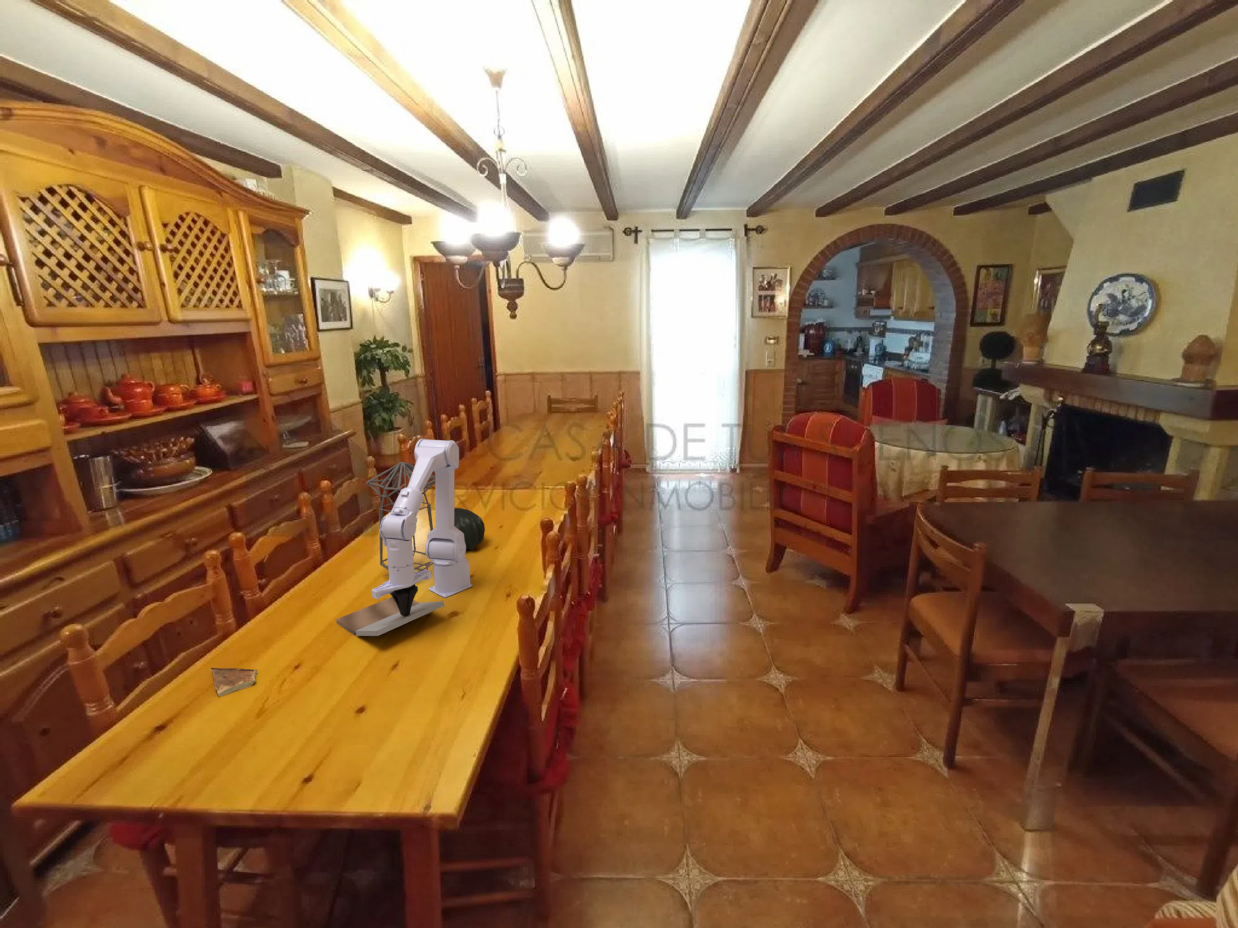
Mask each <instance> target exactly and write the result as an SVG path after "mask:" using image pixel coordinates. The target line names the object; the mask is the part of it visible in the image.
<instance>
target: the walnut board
mask: <svg viewBox="0 0 1238 928" xmlns="http://www.w3.org/2000/svg"><path fill="white" fill-rule="evenodd" d="M419 603H420V602H419V601H416V600H415V599H414V600H413V603H412V606H415V605H417V604H419ZM412 606H411V607H412ZM398 612H400V611H399V608H398V606H397V604H396V602H395V600H394V599H393V597H392V596H391V597H388V598H386V599H383V600H380V601H378V602H376V603H374V604H371V605H369V606H366V607H363V608H360V609H358V610H357V611H354V612H351V613H349V614H346V615H344V616H341V617H339V618H337V619H335V621H336V622H335V623H336V624H337V625H338V626H340V627H341V628H343V629H344V630H346V631H347V632H348V633H350V634H351V635H353V636H356V637H357V635H356V632H355V631H356V630H359V629H361V628H363V627H366V626H368V625H370V624H373V623H375V622H377V621H380V620H382V619H384V618H387V617H389V616H391V615H394V614H396V613H398Z"/></svg>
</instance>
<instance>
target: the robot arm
mask: <svg viewBox="0 0 1238 928" xmlns="http://www.w3.org/2000/svg"><path fill="white" fill-rule="evenodd" d="M413 456H414V459H415V464H414V466H415V467H414V470H413V472H412V475H411V477H410V481H408V484H407V486H406V487H407V488H404V487H403V488H401V489H402V490H399V491H400V492H399V494H398V496H397V498H396V500H395V504H394V506H393V505H392V506H393V507H392V509H391V510H390V511H391V512H389V514H387V516H383V519H382V521H381V524H380V530H379V529H378V530H379V531H378V532H379V533H380V536H381V537H382V538H383V546H385V548H386V556H387V557H386V559H387V558H388V560H387V566H388V569H389V570H388V580H387V581H385V582H383V583H382V584H380V585H378V586H377V587H374V588H372V589H371V596H372V598H373V599H375V600H379V599H381V597H383V596H386V595H388V594H390V596H391V597H393V599H394V600H395V602H396V604H397V606H398V608H399V611H400V614H401V615H402V616H404V617H406V616H408V615H410V611H411V606H412V603H413V600H415V597H416V595H417V593H418V591H419V587H418V585H416V584H417V583H419V582H422V581H425V580H430V579H432V571H430V570H429V569H428V570H427V569H424V570H423V571H419V570H418V571H419V572H417V571H415V570H414V567H415V564H414V562H415V561H414V556H413V553H414V552H413V551H414V546H413V536H414V535H416V532H417V523H418V517H417V516H418V514H419V512H420V510H419V509H420V508H422V507H421V506H422V504H423V503H422V502H424V500H425V497H424V494H422V492H423V489H424V487H425V485H426V483H427V481H428V482H429V480H430V479H429V478H430V476H431V474H432V475H433V473H434V476H435V484H434V485H435V488H434V489H435V490H434V491H435V493H434V494H435V496H434V497H435V498H434V499H435V504H434V505H435V506H434V507H435V513H434V514H435V517H434V518H435V520H434V521H435V528H433V530H432V531H431V532H428V533H427V535H426V543H425V547H424V550H425V551H424V553H426V555H425V556H426V557H427V559H429V560H430V561H431V562H432V563H433V564H432V567H433V581H434V585H432V586H430V587H429V588H428V590H429V591H430V592H432V593H434V594H437V595H439V596H440V597H442V598H444V599H446V598H448V597H451V596H453V595H455V594H457V593H459V592H462V591H464V590H466V589H469V588H471V587H473V584H472V583H471V573H470V572H471V571H470V568H471V567H470V563H469V560H468V559H467V558H466V556H465V555H466V551H467V548H466V544H465V540H464V533H462V532H461V531H460V530H458V529H457V528H456V527H455V526H454V508H455V470H457V469H459V464H460V448H459V446H458V445H457V443H456V441H455V440H452V439H451V440H442V439H441V440H440V439H425V438H420V439H419V440H418V441H417V442H416V444H415V447H414V455H413ZM426 486H427V485H426ZM380 536H379V537H380Z"/></svg>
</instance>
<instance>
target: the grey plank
mask: <svg viewBox="0 0 1238 928" xmlns="http://www.w3.org/2000/svg"><path fill="white" fill-rule="evenodd" d="M445 606H446V605H445V603H444V600H442V601H427V602H424V601H423V602H419V604H417V605H415V606H412V607H411V611H410V615H408V616H406V617H404V616H402V615H401V614H400V612H398V613H396V614H394V615H391V616H389V617H387V618H384V619H382V620H380V621H377V622H375V623H373V624H370V625H368V626H366V627H363V628H361V629H359V630H356V631H355V632H356V637H357V636H358V637H360V636H361V637H363V636H364V637H365V636H366V637H367V636H368V637H379V636H380V635H382V634H385V633H388V632H389V631H391V630H394V629H396V628H398V627H401V626H403V625H405V624H407V623H409V622H411V621H413V620H417V619H418V618H421V617H423V616H426V615H428V614H430V613H432V612H435V611H436V610H438V609H441V608H443V607H445Z"/></svg>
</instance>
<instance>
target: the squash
mask: <svg viewBox="0 0 1238 928" xmlns="http://www.w3.org/2000/svg"><path fill="white" fill-rule="evenodd" d="M454 526H455V527H456V528H457V529H458V530H460V531H461V532H462V533H464V540H465V544H466V550H470V551H471V550H474V549H475V548H477V545H479V544H481V543H482V542H483V541H484V537H485V532H486V526H485V522H484V521H483V519H482V517H481V516H479V515H478V514H476V513H475V512H473V511H472V510H469V509H467V508H462V507H454Z"/></svg>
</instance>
